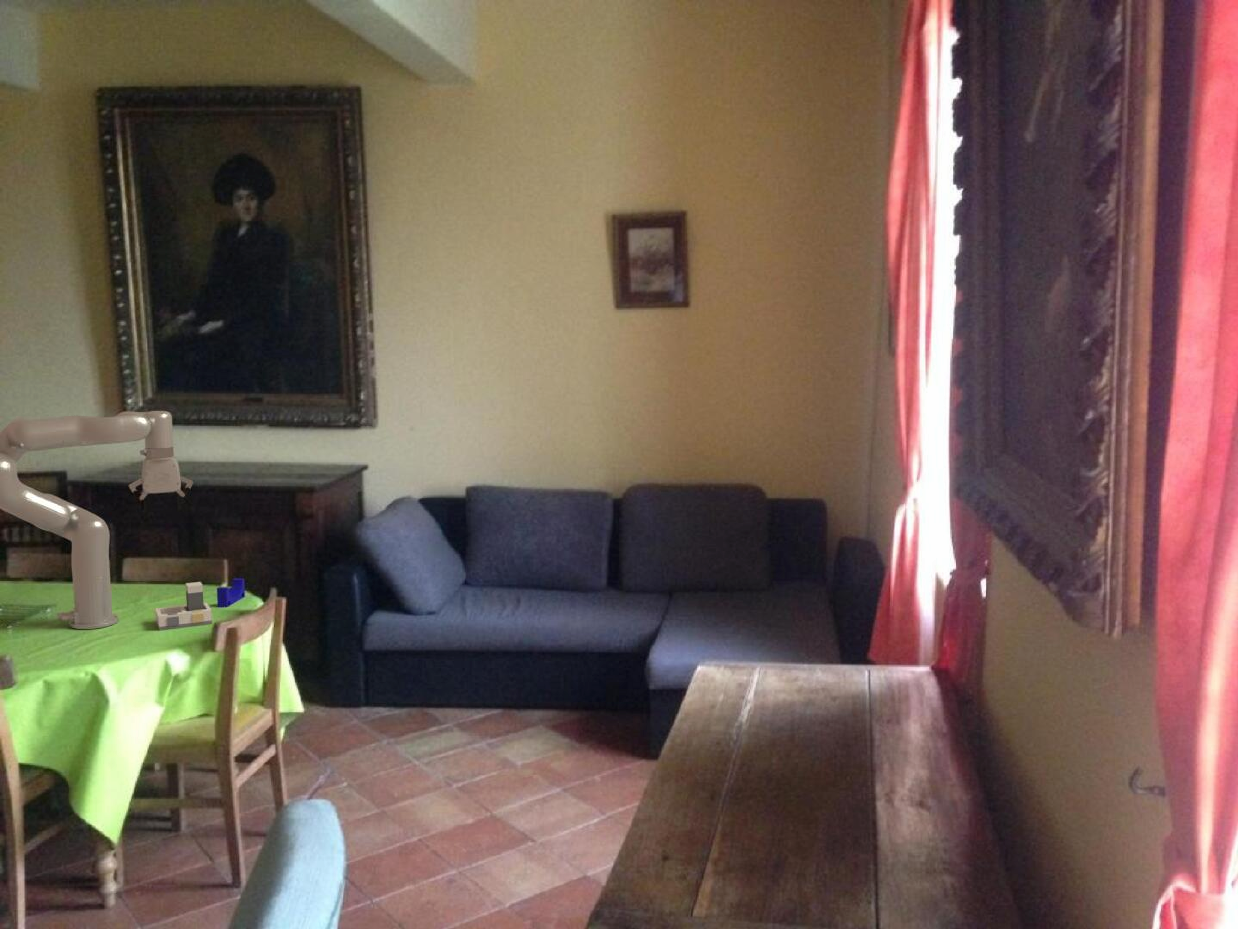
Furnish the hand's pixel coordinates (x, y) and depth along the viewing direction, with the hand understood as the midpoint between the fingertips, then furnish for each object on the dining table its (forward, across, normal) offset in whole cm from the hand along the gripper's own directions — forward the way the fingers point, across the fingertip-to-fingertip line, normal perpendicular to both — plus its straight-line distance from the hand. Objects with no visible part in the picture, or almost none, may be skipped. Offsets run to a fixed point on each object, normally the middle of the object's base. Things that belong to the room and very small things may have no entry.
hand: (162, 511), depth 312 cm
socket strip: (+30, +2, -15) cm, 34 cm away
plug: (+29, +6, -15) cm, 33 cm away
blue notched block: (+31, +18, +2) cm, 36 cm away
